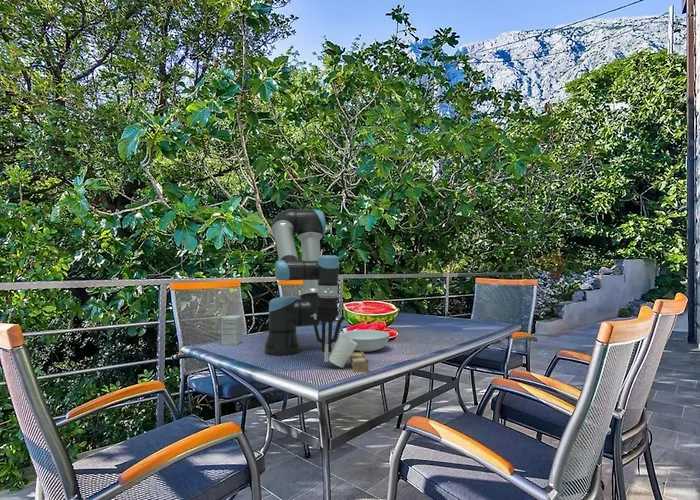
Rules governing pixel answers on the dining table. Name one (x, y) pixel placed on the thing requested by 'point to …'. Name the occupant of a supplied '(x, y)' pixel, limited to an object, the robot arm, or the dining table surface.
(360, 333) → the serving bowl
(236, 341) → the supplement box
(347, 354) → the white cup
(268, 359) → the dining table surface
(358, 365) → the brass metal channel
